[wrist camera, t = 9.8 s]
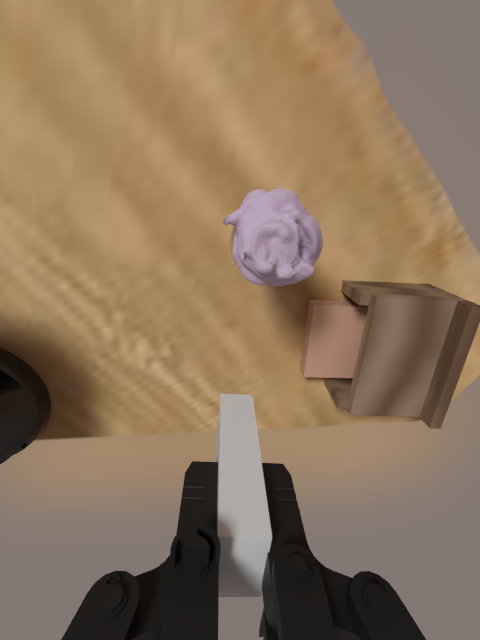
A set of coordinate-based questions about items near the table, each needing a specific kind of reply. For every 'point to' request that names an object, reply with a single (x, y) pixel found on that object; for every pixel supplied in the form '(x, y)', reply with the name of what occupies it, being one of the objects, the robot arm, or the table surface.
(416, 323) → the brown channel bracket
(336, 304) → the pinkish brown block
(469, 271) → the table surface
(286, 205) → the ice cream cone
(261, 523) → the robot arm
